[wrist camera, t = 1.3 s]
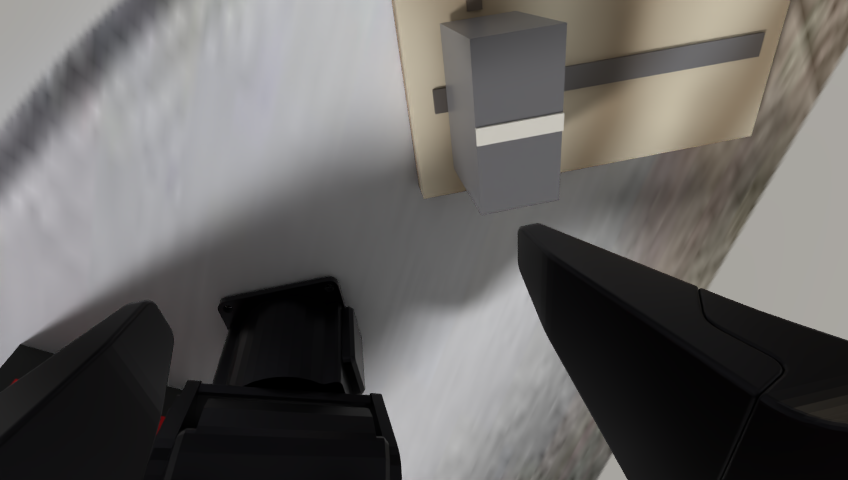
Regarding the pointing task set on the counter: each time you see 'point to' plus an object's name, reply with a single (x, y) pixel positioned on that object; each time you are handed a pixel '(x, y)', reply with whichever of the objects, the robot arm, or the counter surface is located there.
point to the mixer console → (608, 75)
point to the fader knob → (506, 107)
